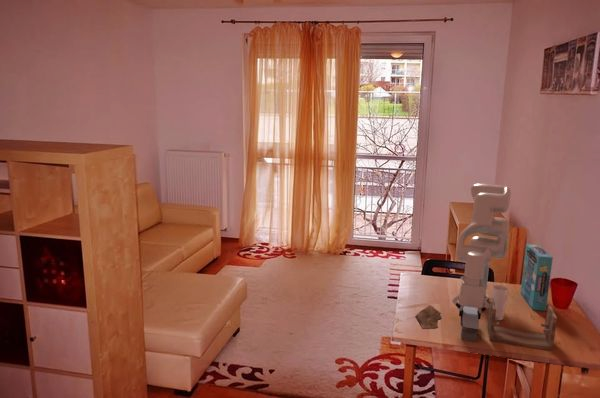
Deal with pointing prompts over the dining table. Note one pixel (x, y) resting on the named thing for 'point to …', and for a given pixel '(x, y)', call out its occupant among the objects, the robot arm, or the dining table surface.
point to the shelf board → (470, 317)
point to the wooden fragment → (428, 317)
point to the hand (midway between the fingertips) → (469, 318)
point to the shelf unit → (523, 331)
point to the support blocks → (468, 333)
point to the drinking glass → (499, 299)
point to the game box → (536, 276)
